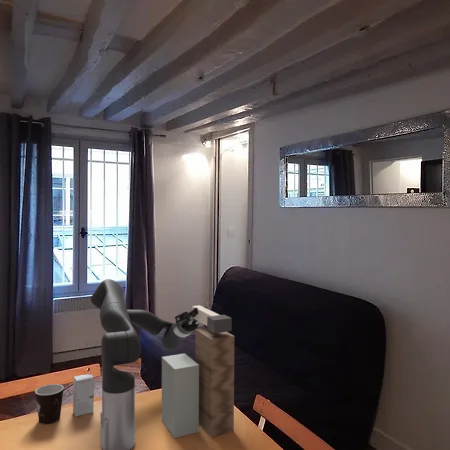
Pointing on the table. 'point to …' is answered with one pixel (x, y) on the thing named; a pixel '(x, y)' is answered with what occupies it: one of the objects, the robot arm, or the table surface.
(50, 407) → the coffee mug
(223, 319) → the bar
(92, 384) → the skincare box
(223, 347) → the brown tall block
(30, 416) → the table surface
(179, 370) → the pale green block
